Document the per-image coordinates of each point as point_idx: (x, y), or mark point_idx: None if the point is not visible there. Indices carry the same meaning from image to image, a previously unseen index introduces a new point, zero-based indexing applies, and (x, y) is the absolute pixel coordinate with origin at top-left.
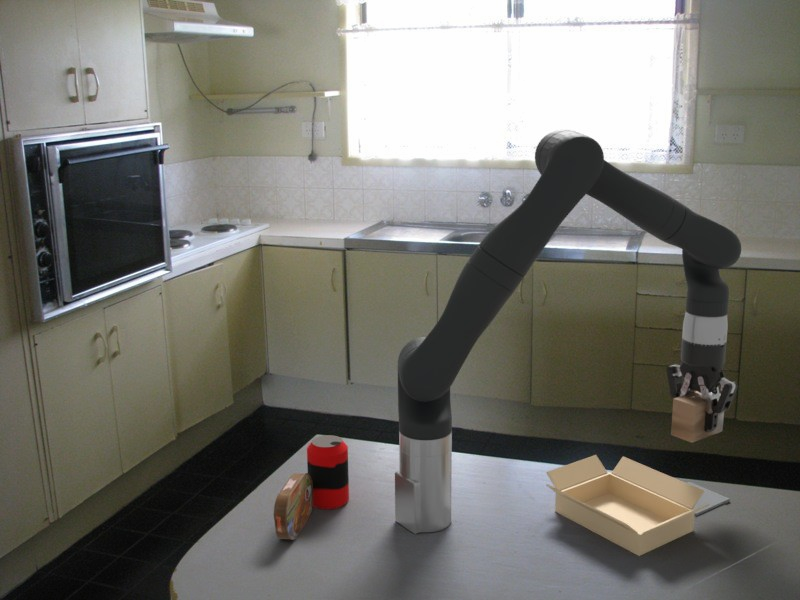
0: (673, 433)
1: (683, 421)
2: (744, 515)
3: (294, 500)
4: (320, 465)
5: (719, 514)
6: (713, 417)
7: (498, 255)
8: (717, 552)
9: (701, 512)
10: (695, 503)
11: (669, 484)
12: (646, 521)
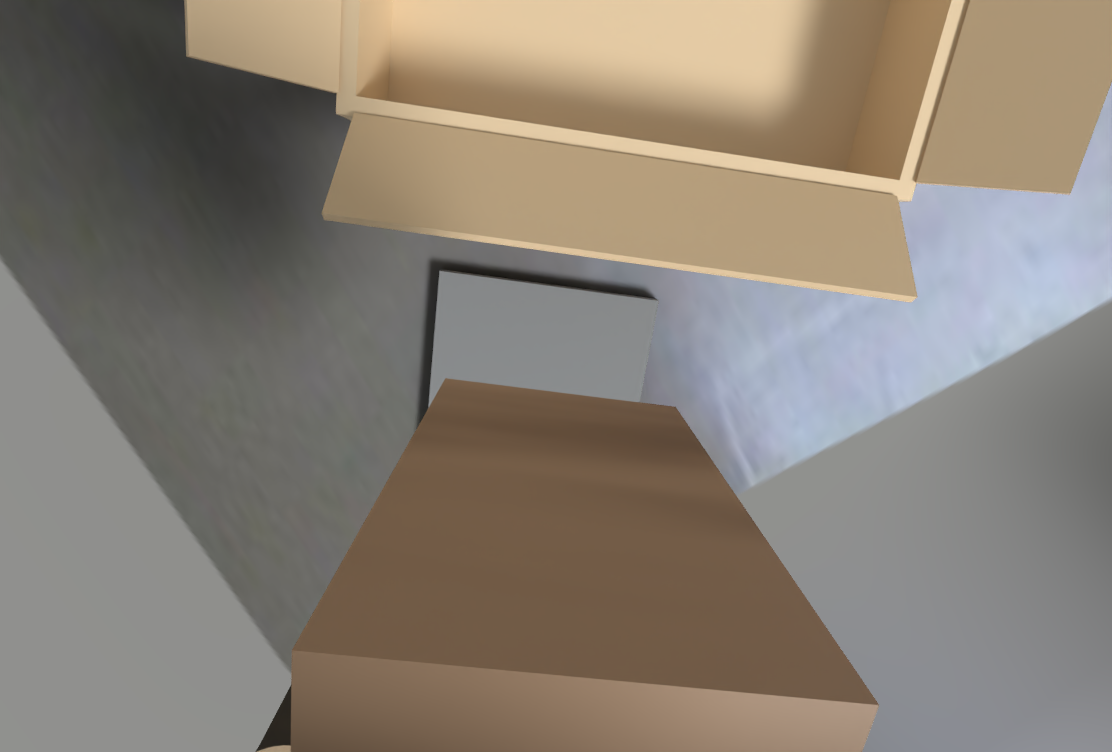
0: (652, 411)
1: (555, 468)
2: (319, 425)
3: None
4: None
5: (389, 362)
6: (273, 730)
7: None
8: None
9: (437, 310)
10: (345, 144)
11: (543, 204)
12: (564, 45)
